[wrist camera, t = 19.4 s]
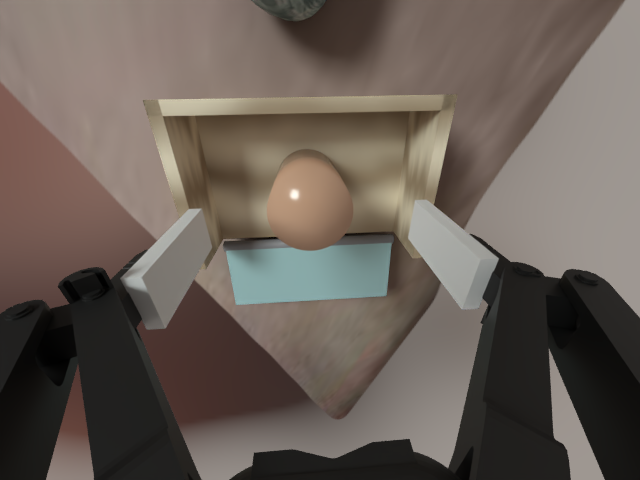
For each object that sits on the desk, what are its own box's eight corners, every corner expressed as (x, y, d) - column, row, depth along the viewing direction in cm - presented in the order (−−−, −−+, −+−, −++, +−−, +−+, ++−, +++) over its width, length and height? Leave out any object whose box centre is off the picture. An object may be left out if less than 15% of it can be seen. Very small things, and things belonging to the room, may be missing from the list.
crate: (192, 101, 25) (142, 100, 17) (409, 97, 26) (457, 94, 18) (221, 228, 32) (195, 269, 24) (393, 220, 33) (422, 257, 25)
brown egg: (279, 210, 28) (271, 252, 20) (273, 149, 25) (261, 171, 17) (337, 208, 28) (351, 248, 20) (338, 148, 25) (355, 168, 17)
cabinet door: (222, 243, 29) (234, 305, 32) (394, 235, 30) (388, 296, 33) (225, 239, 30) (236, 299, 33) (390, 232, 31) (385, 291, 34)
